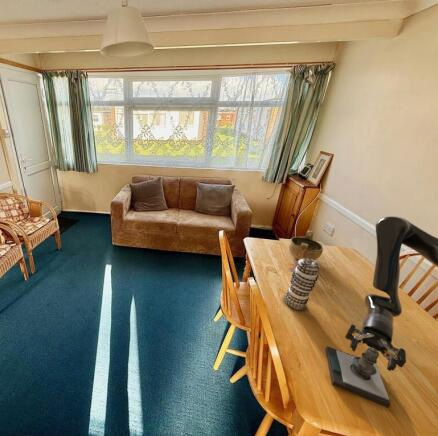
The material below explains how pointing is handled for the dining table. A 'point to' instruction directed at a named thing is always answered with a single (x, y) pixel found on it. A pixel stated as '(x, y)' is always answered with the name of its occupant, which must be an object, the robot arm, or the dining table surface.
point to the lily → (294, 266)
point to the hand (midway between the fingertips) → (371, 358)
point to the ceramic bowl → (305, 247)
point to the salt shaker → (365, 364)
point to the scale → (355, 378)
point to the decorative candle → (302, 283)
